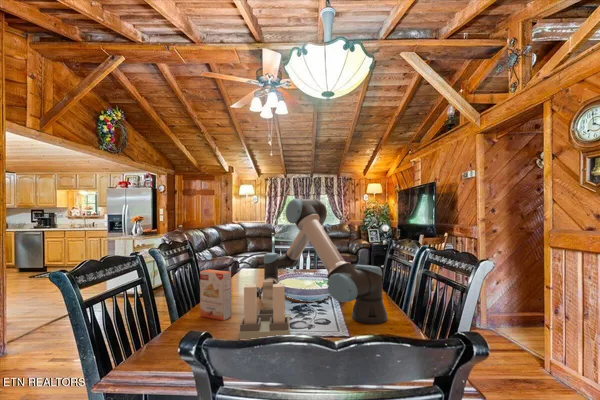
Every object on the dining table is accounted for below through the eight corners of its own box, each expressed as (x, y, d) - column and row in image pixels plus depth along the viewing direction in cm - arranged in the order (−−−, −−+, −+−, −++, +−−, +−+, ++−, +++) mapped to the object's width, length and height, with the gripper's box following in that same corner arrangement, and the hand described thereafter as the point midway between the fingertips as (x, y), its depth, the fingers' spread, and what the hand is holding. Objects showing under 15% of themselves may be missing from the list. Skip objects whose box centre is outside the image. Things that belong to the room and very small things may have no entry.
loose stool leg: (264, 314, 147) (263, 279, 147) (273, 313, 147) (273, 279, 147) (263, 317, 142) (262, 281, 143) (273, 317, 142) (272, 281, 143)
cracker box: (199, 317, 144) (199, 271, 145) (208, 313, 150) (208, 268, 150) (223, 321, 138) (222, 273, 138) (232, 317, 143) (231, 271, 144)
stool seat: (245, 322, 136) (244, 278, 137) (289, 321, 137) (288, 277, 138) (238, 340, 117) (238, 289, 118) (289, 338, 118) (289, 287, 119)
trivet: (326, 290, 189) (326, 287, 189) (332, 303, 164) (332, 299, 164) (284, 291, 188) (284, 288, 188) (284, 304, 163) (284, 300, 163)
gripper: (287, 293, 163) (287, 307, 140) (253, 294, 162) (247, 308, 139) (287, 278, 163) (287, 289, 140) (253, 279, 163) (247, 291, 139)
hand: (267, 299), depth 140 cm, fingers closed on loose stool leg, 4 cm apart
